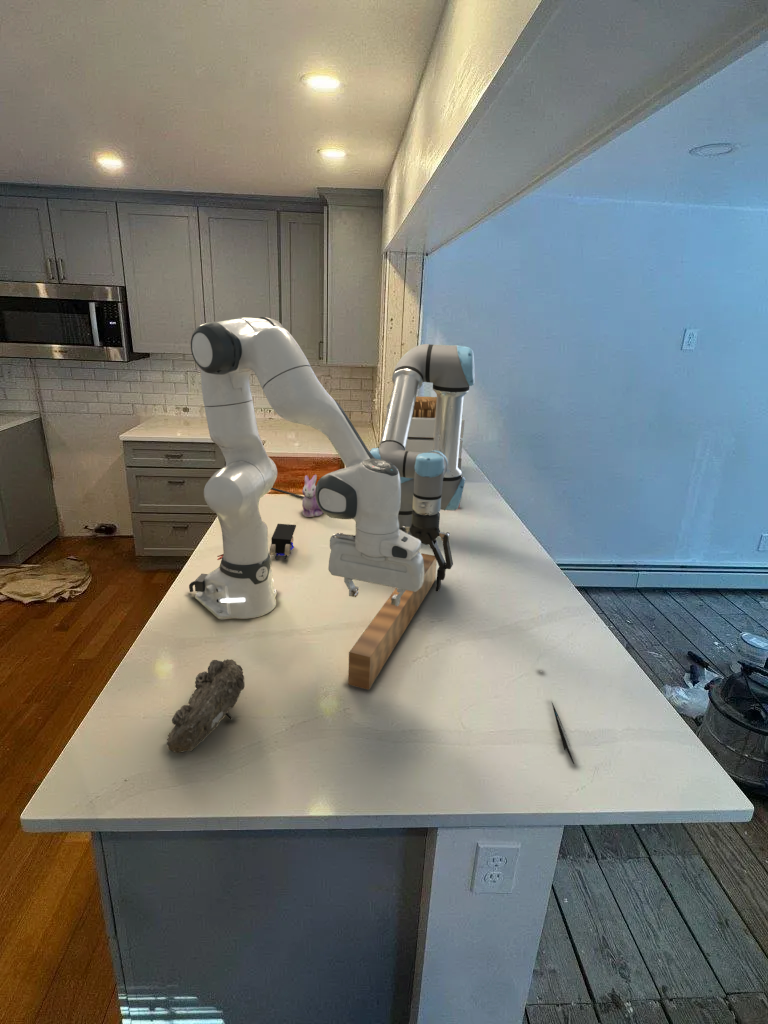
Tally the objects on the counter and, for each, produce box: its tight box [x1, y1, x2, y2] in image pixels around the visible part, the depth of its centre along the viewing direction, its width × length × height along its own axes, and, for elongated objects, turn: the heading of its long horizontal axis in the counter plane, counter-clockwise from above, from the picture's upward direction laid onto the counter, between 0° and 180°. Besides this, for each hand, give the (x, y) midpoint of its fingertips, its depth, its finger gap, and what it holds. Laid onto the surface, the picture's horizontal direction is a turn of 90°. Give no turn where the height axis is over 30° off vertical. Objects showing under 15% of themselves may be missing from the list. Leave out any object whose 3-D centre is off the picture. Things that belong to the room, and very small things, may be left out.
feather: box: [540, 670, 575, 765], centre depth 113 cm, size 2×28×2 cm
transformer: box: [385, 396, 465, 471], centre depth 268 cm, size 34×33×41 cm
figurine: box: [301, 474, 324, 518], centre depth 213 cm, size 9×10×15 cm
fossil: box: [166, 658, 245, 754], centre depth 106 cm, size 22×10×15 cm
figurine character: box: [269, 523, 297, 560], centre depth 179 cm, size 7×8×15 cm
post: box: [347, 552, 438, 691], centre depth 142 cm, size 55×5×8 cm, turn 161°
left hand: (374, 600), depth 120 cm, fingers open, 8 cm apart
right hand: (420, 585), depth 160 cm, fingers open, 9 cm apart
